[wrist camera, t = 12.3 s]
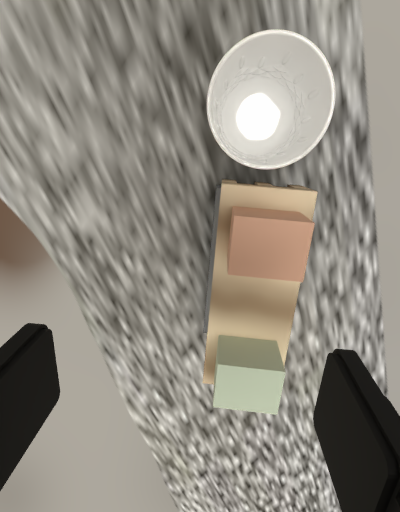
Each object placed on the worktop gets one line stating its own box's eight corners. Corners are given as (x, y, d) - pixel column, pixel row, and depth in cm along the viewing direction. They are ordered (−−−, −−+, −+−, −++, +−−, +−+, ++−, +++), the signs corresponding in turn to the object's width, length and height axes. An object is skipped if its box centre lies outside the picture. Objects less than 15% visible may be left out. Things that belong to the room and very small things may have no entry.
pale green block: (218, 334, 27) (217, 364, 23) (276, 340, 26) (285, 372, 23) (214, 373, 28) (213, 407, 24) (269, 379, 28) (277, 414, 24)
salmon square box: (232, 206, 23) (234, 215, 19) (299, 212, 23) (314, 222, 19) (227, 256, 24) (227, 274, 21) (290, 262, 24) (303, 282, 20)
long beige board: (222, 179, 27) (221, 183, 23) (301, 185, 27) (317, 191, 22) (205, 350, 33) (202, 383, 28) (271, 357, 33) (279, 392, 28)
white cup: (275, 54, 27) (303, -2, 17) (312, 138, 29) (355, 128, 19) (197, 104, 29) (183, 78, 19) (236, 180, 30) (242, 191, 21)
